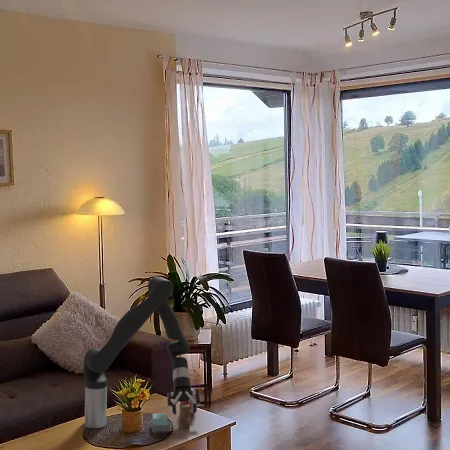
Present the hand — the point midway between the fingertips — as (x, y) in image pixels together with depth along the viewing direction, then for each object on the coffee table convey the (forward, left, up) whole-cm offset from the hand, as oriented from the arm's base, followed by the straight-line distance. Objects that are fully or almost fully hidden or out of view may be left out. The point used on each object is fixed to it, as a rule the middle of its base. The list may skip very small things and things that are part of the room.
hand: (185, 413), depth 294 cm
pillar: (0, 0, -6) cm, 6 cm away
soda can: (+4, +16, -6) cm, 17 cm away
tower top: (-11, 0, -4) cm, 12 cm away
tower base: (-11, -1, -7) cm, 13 cm away
